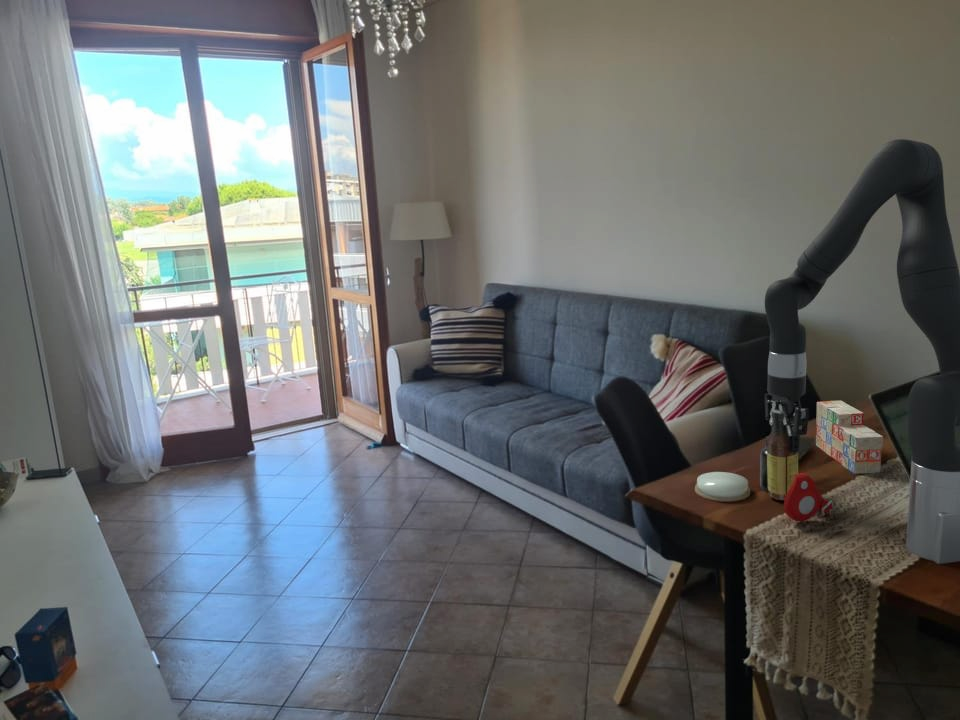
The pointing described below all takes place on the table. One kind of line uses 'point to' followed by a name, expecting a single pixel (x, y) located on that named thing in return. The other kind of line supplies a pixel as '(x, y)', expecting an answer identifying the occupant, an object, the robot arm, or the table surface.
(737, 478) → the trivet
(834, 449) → the stack of blocks
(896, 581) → the table surface
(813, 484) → the tracker holder
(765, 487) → the supplement bottle
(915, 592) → the table surface
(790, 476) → the sauce bottle
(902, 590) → the table surface
